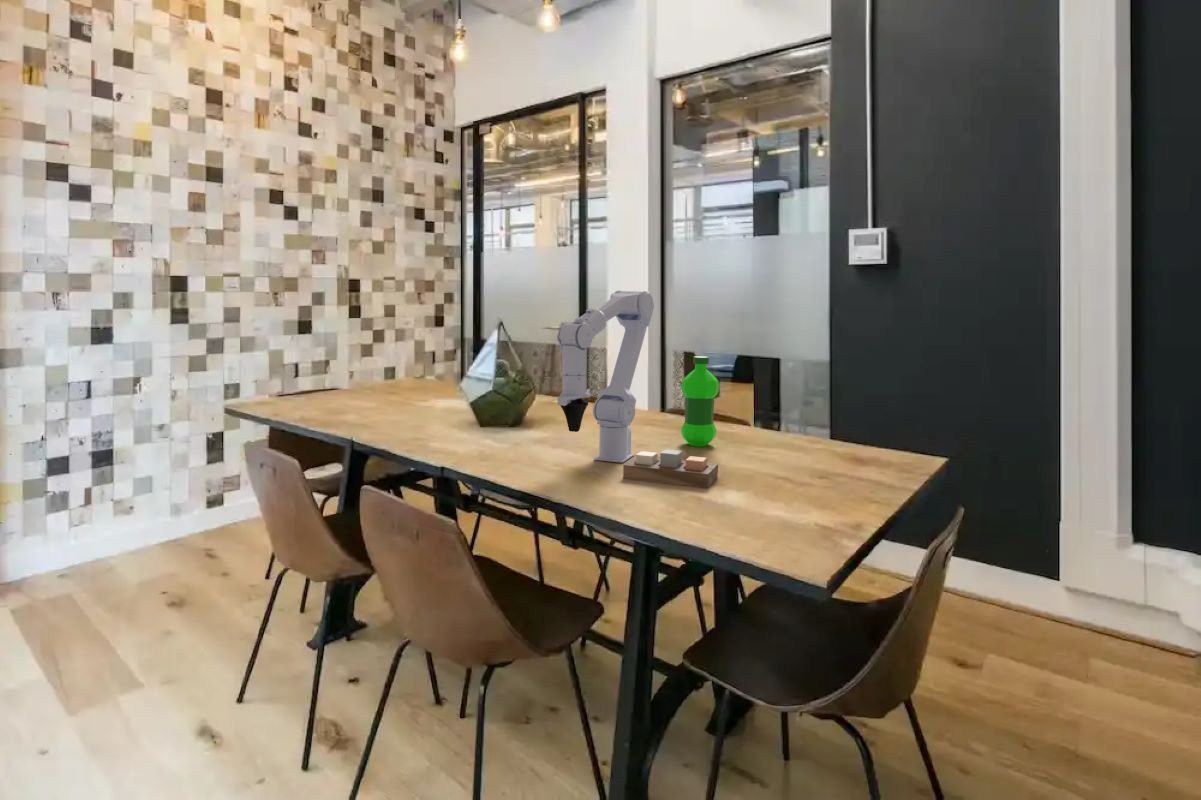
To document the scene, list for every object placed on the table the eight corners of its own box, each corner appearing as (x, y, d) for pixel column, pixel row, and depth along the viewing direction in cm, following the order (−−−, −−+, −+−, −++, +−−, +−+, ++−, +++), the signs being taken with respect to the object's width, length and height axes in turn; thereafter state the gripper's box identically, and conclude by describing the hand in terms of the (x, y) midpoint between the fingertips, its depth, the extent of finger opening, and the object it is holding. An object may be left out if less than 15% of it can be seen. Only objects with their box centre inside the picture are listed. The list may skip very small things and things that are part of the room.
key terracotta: (689, 471, 167) (690, 456, 166) (706, 472, 165) (706, 457, 165) (685, 475, 163) (685, 459, 163) (702, 477, 162) (702, 461, 161)
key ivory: (641, 465, 171) (641, 451, 171) (657, 467, 170) (657, 452, 169) (635, 469, 168) (635, 454, 167) (651, 471, 166) (652, 456, 166)
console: (637, 468, 175) (637, 455, 175) (717, 477, 168) (718, 464, 167) (623, 478, 166) (623, 464, 165) (707, 488, 159) (708, 474, 158)
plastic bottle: (724, 446, 201) (727, 357, 197) (694, 449, 196) (697, 359, 192) (702, 439, 210) (705, 354, 206) (672, 442, 204) (675, 356, 201)
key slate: (665, 464, 169) (665, 449, 168) (681, 465, 167) (681, 451, 167) (660, 468, 165) (660, 452, 165) (676, 469, 164) (677, 454, 163)
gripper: (577, 379, 160) (577, 438, 162) (601, 372, 173) (601, 427, 175) (549, 377, 162) (549, 435, 165) (575, 370, 176) (574, 424, 178)
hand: (574, 431), depth 170 cm, fingers closed
